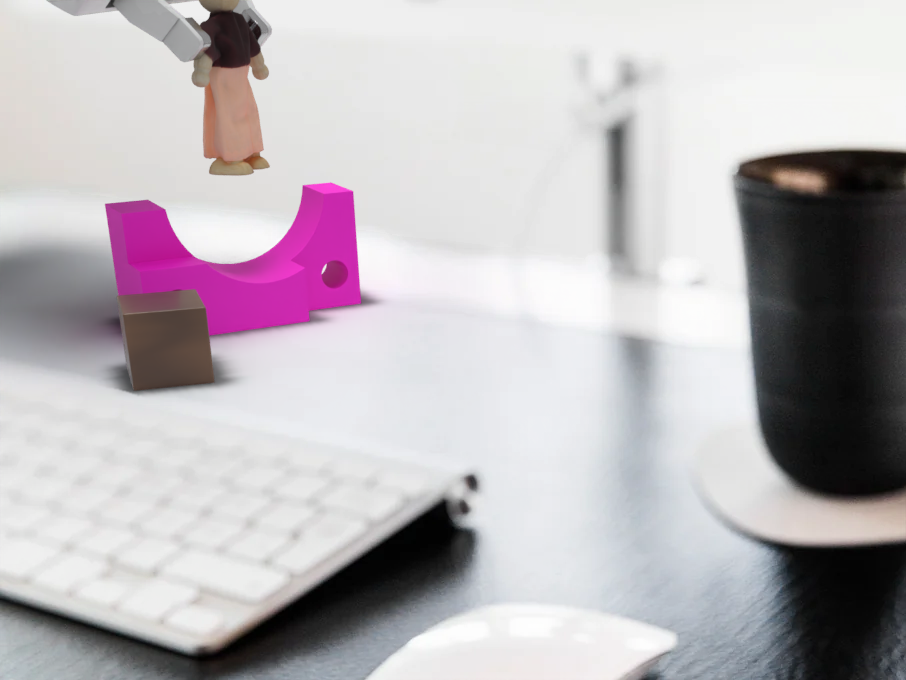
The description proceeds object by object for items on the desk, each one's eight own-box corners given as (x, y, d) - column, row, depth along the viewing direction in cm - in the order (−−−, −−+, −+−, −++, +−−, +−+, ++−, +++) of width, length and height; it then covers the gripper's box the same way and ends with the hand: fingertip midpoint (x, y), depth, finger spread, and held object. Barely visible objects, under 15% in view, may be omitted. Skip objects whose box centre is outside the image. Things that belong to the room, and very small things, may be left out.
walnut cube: (134, 392, 78) (122, 314, 76) (127, 370, 82) (116, 295, 80) (215, 384, 80) (206, 307, 78) (204, 363, 83) (196, 288, 81)
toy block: (150, 345, 86) (132, 220, 83) (122, 322, 91) (104, 203, 88) (376, 312, 94) (368, 197, 90) (339, 293, 98) (331, 182, 95)
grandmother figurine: (227, 160, 92) (205, -54, 87) (284, 162, 92) (266, -53, 86) (183, 180, 85) (156, -51, 80) (245, 182, 85) (222, -50, 79)
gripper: (123, -95, 93) (275, 67, 96) (-77, -94, 75) (115, 105, 78) (177, -172, 90) (331, -3, 93) (-19, -191, 72) (179, 20, 75)
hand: (231, 47), depth 85 cm, fingers closed on grandmother figurine, 7 cm apart
